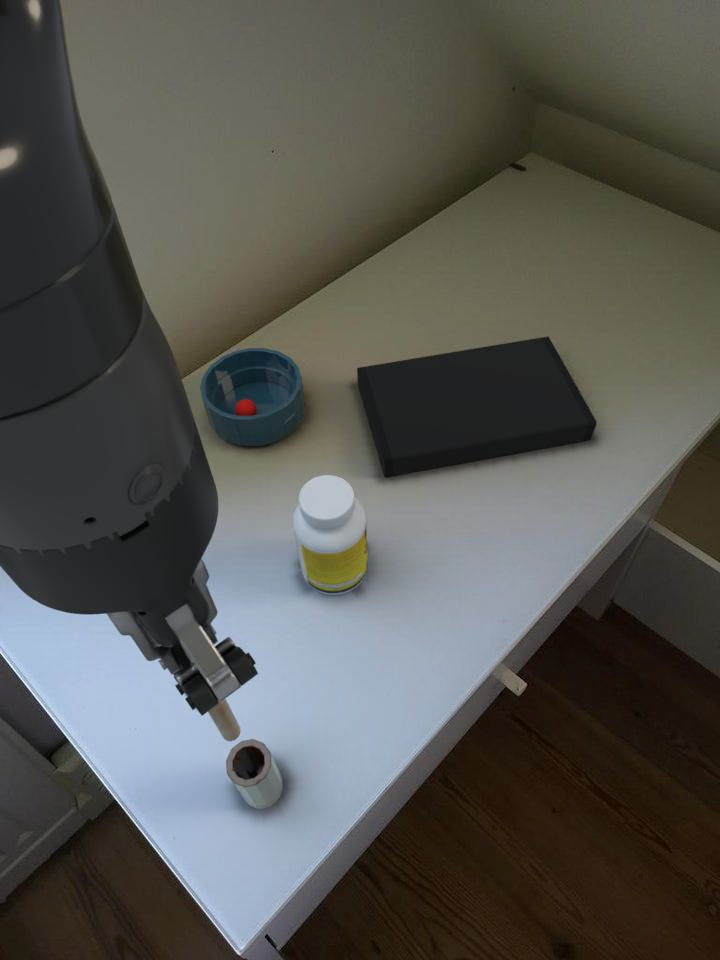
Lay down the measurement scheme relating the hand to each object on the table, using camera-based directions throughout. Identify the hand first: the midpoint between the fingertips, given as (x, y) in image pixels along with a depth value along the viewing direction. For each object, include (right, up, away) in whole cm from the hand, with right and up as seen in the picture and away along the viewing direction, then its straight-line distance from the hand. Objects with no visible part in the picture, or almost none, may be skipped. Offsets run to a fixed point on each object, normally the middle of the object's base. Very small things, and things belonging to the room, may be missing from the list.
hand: (193, 663), depth 35 cm
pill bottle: (+6, +1, +32) cm, 32 cm away
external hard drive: (+21, +17, +44) cm, 51 cm away
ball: (-4, +17, +42) cm, 46 cm away
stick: (0, -7, +9) cm, 11 cm away
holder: (+1, -15, +20) cm, 25 cm away
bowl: (-3, +17, +44) cm, 48 cm away
